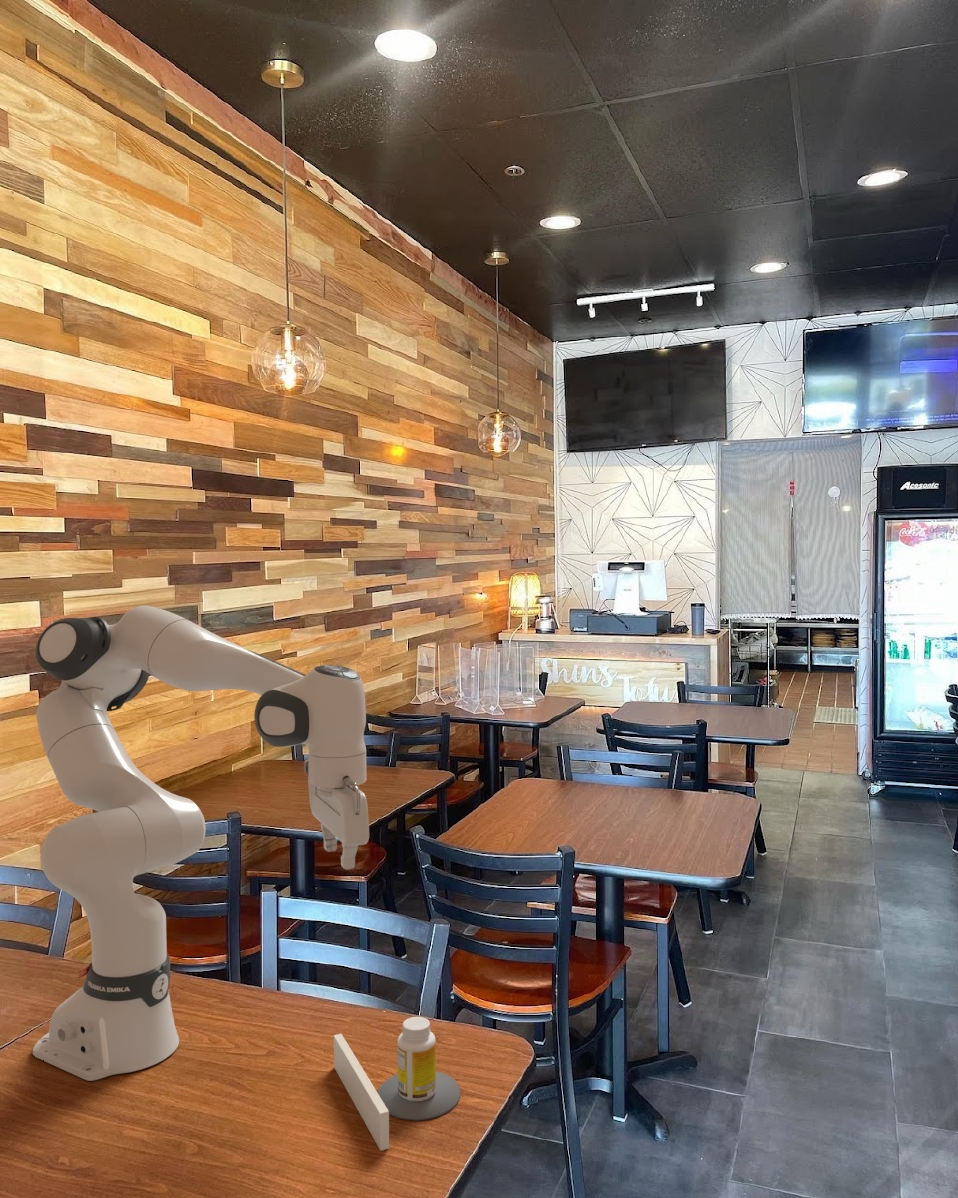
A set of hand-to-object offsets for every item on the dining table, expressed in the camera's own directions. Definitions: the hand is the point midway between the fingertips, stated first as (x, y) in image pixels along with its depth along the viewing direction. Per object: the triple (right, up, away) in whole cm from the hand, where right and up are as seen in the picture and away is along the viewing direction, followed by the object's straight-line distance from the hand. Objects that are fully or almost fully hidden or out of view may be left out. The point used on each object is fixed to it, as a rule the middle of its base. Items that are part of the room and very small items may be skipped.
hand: (338, 858), depth 142 cm
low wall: (+5, -32, -12) cm, 34 cm away
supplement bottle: (+13, -31, -10) cm, 35 cm away
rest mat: (+13, -31, -10) cm, 35 cm away
